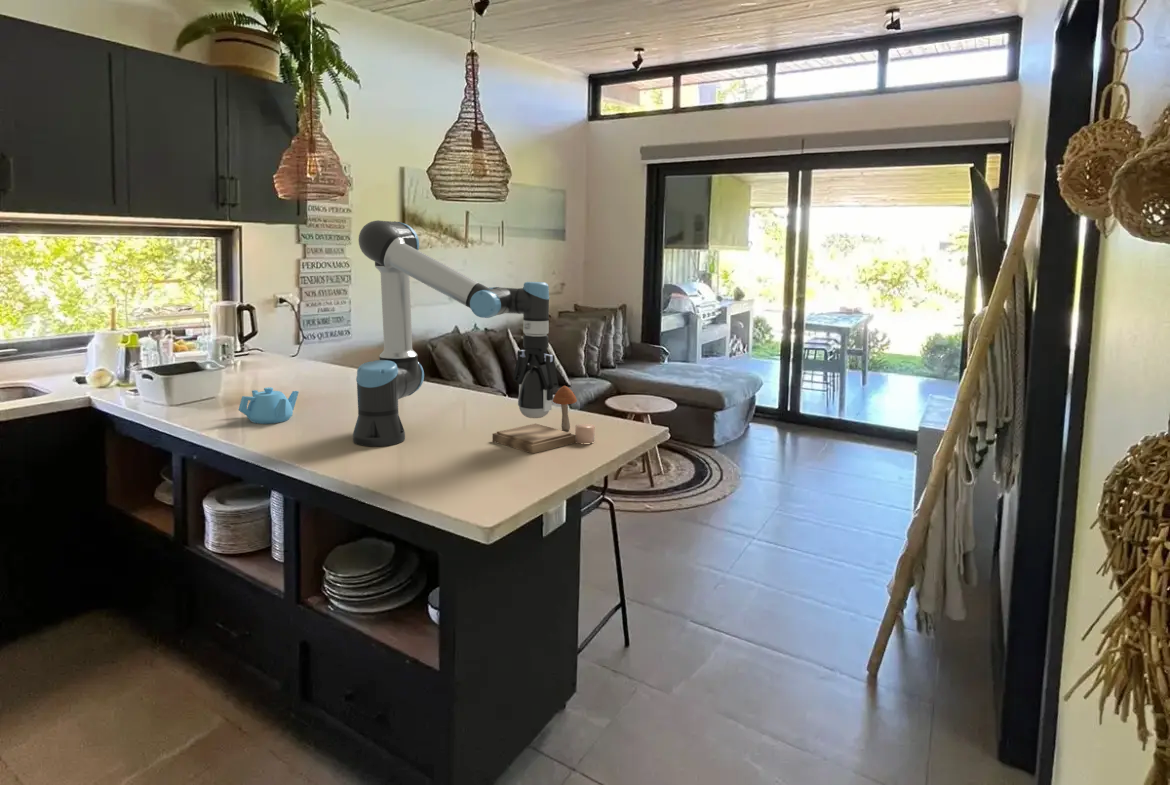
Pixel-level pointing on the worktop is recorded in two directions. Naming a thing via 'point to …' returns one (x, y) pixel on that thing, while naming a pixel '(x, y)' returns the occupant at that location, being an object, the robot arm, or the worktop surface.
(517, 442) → the walnut tray
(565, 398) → the mushroom
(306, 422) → the worktop surface
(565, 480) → the worktop surface
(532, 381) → the pump dispenser
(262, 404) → the teapot
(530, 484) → the worktop surface
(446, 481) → the worktop surface
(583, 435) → the pink rounded glossy part
